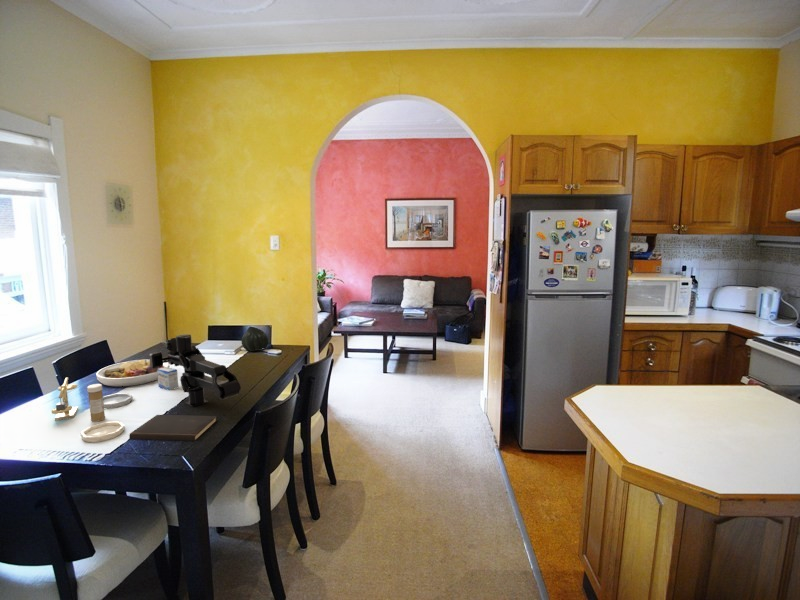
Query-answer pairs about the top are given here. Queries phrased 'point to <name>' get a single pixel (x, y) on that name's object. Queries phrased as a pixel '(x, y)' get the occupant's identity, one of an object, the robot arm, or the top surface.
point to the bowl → (129, 373)
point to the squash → (254, 339)
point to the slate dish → (116, 400)
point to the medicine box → (167, 378)
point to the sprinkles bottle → (96, 402)
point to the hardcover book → (173, 427)
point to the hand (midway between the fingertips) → (164, 353)
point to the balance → (65, 403)
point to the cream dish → (102, 431)
